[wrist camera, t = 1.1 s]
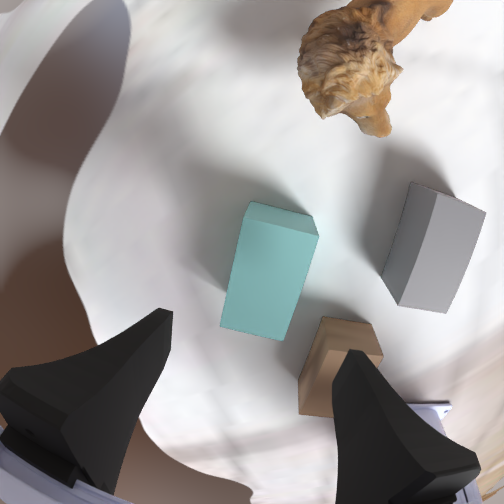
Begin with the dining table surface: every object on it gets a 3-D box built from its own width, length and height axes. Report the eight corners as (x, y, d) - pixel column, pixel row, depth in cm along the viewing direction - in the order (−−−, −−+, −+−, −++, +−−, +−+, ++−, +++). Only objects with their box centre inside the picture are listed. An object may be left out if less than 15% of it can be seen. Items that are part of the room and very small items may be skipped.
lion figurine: (342, 148, 17) (394, 161, 9) (270, 99, 16) (259, 65, 8) (443, 3, 12) (511, -40, 4) (381, -41, 11) (424, -107, 3)
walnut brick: (340, 384, 24) (346, 418, 21) (297, 379, 24) (298, 414, 21) (370, 323, 22) (383, 356, 18) (322, 315, 22) (328, 349, 18)
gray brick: (424, 285, 20) (446, 313, 16) (380, 276, 20) (397, 305, 16) (455, 197, 17) (486, 212, 14) (410, 181, 17) (437, 193, 14)
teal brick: (283, 307, 22) (283, 341, 18) (229, 294, 22) (219, 326, 18) (311, 216, 19) (319, 236, 15) (251, 200, 19) (243, 217, 15)
